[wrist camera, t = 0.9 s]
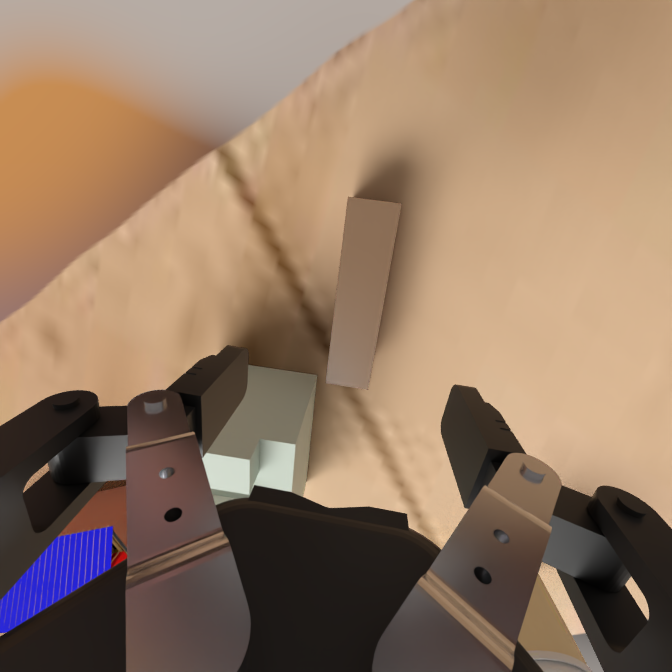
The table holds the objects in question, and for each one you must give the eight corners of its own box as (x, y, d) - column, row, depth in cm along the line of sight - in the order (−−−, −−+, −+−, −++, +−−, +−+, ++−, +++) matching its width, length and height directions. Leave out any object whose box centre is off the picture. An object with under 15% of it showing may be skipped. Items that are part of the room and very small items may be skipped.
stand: (317, 375, 31) (288, 466, 20) (306, 482, 36) (278, 602, 25) (217, 360, 32) (135, 441, 20) (221, 468, 37) (157, 579, 26)
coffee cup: (464, 588, 40) (500, 731, 29) (441, 538, 38) (471, 676, 26) (541, 575, 38) (613, 725, 27) (523, 521, 35) (594, 664, 24)
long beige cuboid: (395, 204, 25) (401, 203, 20) (368, 362, 30) (368, 389, 26) (351, 199, 25) (348, 196, 21) (332, 357, 30) (325, 383, 26)
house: (31, 503, 43) (-84, 602, 32) (153, 475, 39) (70, 578, 28) (83, 562, 46) (-4, 669, 36) (199, 543, 42) (141, 656, 32)
